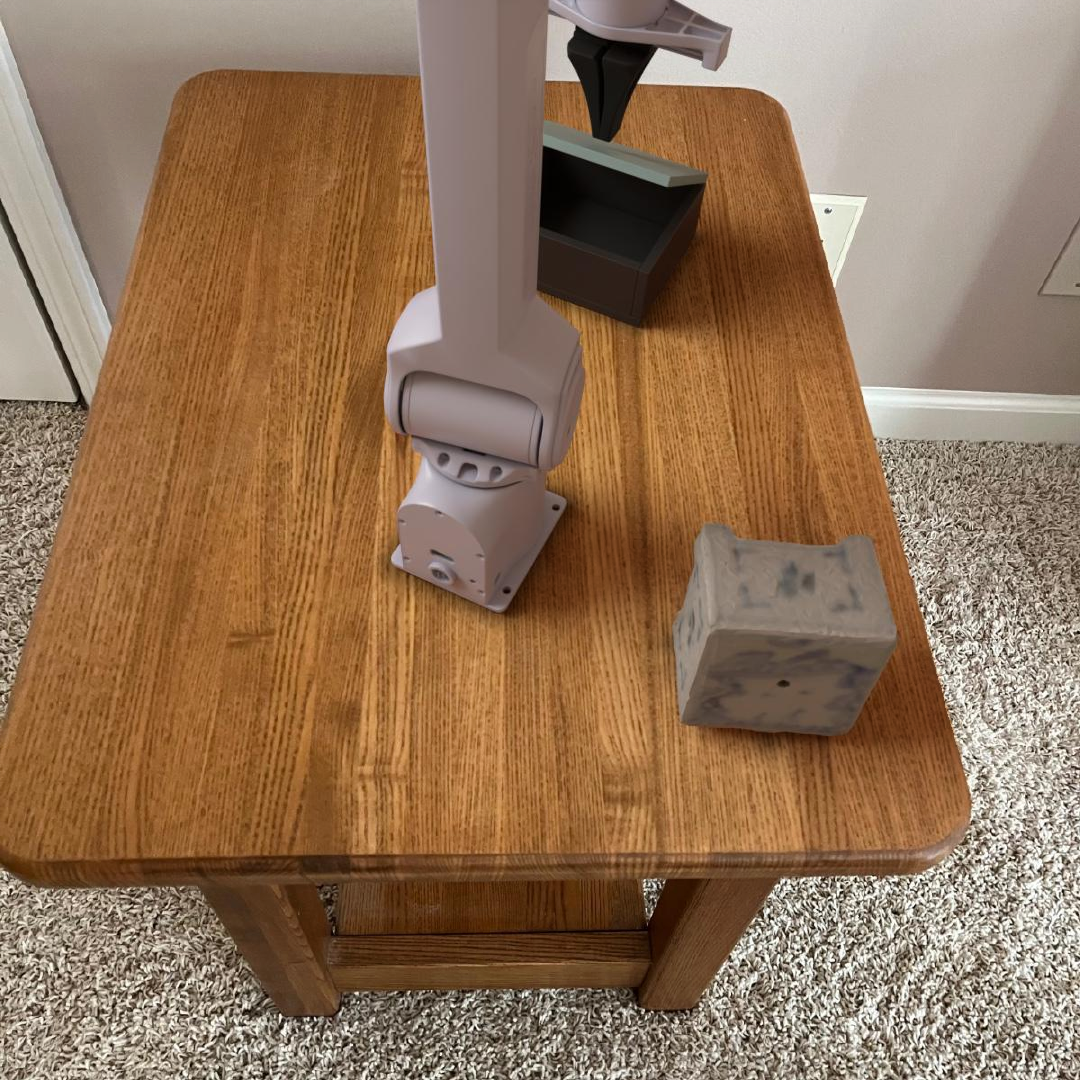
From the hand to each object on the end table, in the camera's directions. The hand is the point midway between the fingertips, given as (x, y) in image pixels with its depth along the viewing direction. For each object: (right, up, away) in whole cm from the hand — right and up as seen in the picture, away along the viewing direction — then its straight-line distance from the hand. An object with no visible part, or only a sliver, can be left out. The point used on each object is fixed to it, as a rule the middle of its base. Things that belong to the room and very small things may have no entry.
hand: (606, 132), depth 70 cm
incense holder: (+8, -37, -12) cm, 40 cm away
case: (-1, -6, +8) cm, 10 cm away
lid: (0, -1, +1) cm, 2 cm away
